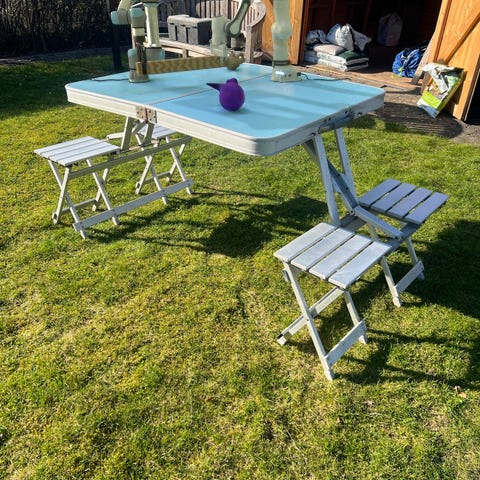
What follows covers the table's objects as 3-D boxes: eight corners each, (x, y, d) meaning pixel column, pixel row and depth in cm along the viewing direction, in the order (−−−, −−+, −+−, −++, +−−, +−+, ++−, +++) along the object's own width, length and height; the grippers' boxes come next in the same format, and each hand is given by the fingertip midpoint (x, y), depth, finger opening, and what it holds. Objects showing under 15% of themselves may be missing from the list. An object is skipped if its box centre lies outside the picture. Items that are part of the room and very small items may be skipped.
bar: (139, 76, 294) (137, 63, 290) (137, 75, 297) (135, 62, 293) (226, 67, 321) (225, 55, 317) (223, 66, 324) (222, 54, 320)
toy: (230, 101, 277) (244, 117, 257) (203, 96, 270) (216, 112, 249) (236, 75, 269) (252, 89, 249) (209, 70, 262) (222, 84, 241)
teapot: (225, 72, 364) (224, 52, 356) (218, 70, 372) (217, 50, 365) (247, 69, 373) (247, 50, 365) (240, 67, 381) (240, 48, 374)
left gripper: (149, 36, 280) (153, 75, 292) (140, 33, 293) (145, 71, 305) (137, 37, 277) (142, 76, 289) (129, 34, 290) (134, 72, 302)
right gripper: (229, 42, 306) (230, 64, 313) (216, 39, 321) (217, 60, 328) (221, 43, 303) (222, 64, 310) (208, 40, 319) (209, 61, 325)
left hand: (143, 73), depth 297 cm, fingers closed on bar, 4 cm apart
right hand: (219, 62), depth 319 cm, fingers closed on bar, 4 cm apart
